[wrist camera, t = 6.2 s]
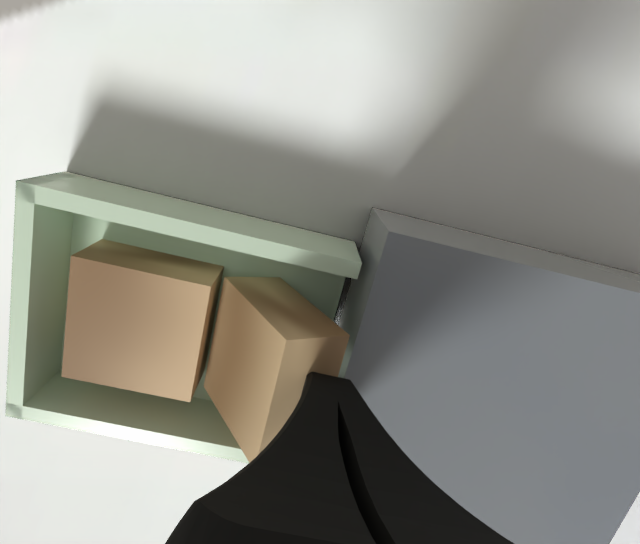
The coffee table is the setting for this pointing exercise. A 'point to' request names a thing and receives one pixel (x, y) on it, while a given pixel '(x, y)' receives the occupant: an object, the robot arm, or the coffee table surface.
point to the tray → (155, 234)
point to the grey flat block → (501, 375)
